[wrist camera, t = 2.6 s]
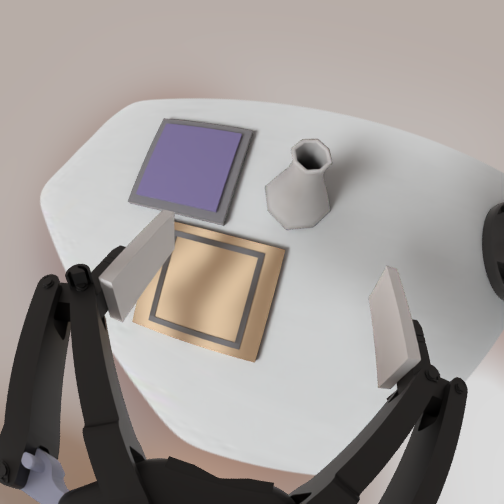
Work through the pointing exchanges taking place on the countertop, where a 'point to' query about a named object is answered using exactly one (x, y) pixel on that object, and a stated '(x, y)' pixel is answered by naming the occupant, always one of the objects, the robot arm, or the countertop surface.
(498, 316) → the countertop surface
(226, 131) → the ink pad
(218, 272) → the marked board
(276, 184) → the flask
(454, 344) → the countertop surface
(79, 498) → the robot arm
